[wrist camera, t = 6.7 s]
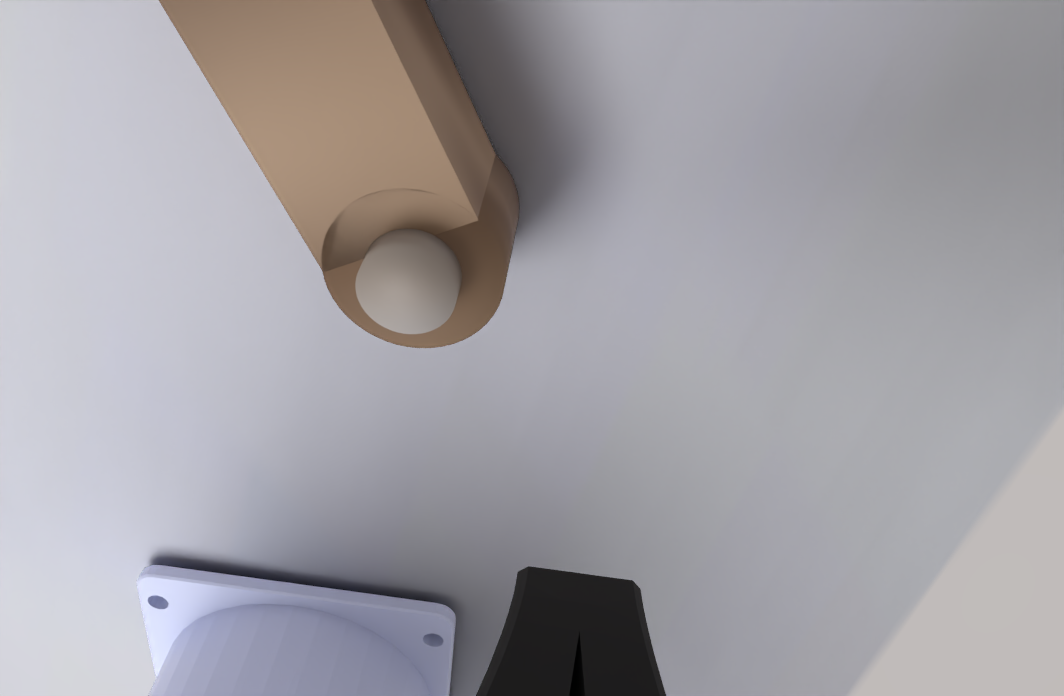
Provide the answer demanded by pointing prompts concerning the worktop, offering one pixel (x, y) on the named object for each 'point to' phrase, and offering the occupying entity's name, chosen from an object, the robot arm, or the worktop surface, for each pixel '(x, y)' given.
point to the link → (367, 154)
